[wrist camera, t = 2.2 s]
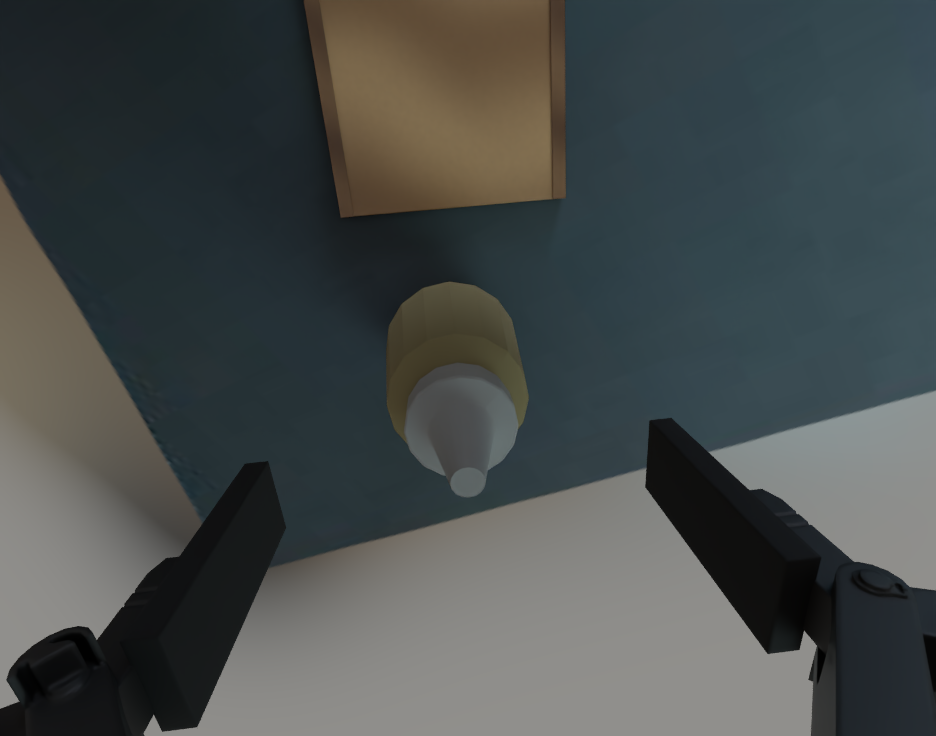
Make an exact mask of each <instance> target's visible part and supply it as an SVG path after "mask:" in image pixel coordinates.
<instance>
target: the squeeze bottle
mask: <svg viewBox="0 0 936 736" xmlns="http://www.w3.org/2000/svg"><path fill="white" fill-rule="evenodd" d="M386 370H387V408H388V411H389V414H390V417H391V420H392V423H393V426H394V429H395V431H396V432H397V433H398V434H399V435H400V436H401V437H402V438H403V440H404V441H405V442H406V443H407V444H408V446H409V449H410V452H411V453H412V454H413V455H414V456H415V457H416V458H417V459H418V460H419V461H420V463H421V464H422V465H423V466H425V467H427V468H429V469H431V470H433V471H435V472H437V473H439V474H441V475H446V477H447V480H448V482H449V484H450V486H451V489H452V490H453V491H454V492H455V493H456V494H457V495H459V496H461V497H472V496H476V495H477V494H479V493H480V492H481V491H482V490H483V488H484V487H485V482H486V477H487V471H488V470H489V469H490V468H492V467H493V466H495V465H496V464H498V463H500V462H501V461H502V460H503V459H504V458H505V456H506V455H507V453H508V452H509V451H510V449H511V448H512V447H513V445H514V443H515V438H516V434H517V430H518V429H519V427H520V426H521V424H522V423H523V421H524V417H525V412H526V408H527V403H528V399H529V396H528V391H527V386H526V381H525V376H524V371H523V367H522V363H521V358H520V354H519V349H518V345H517V340H516V336H515V331H514V327H513V323H512V319H511V318H510V316H509V315H508V313H507V312H506V311H505V309H504V308H503V306H502V305H501V304H500V302H499V301H498V299H496V298H495V297H493V296H491V295H490V294H488V293H486V292H485V291H483V290H482V289H480V288H478V287H477V286H475V285H468V284H461V283H455V282H445V283H441V284H437V285H433V286H429V287H425V288H422V289H421V290H420V291H418V292H417V293H415V294H414V295H413V296H411V297H410V298H409V299H407V300H406V301H405V302H403V303H402V304H401V306H400V308H399V309H398V311H397V313H396V314H395V316H394V318H393V320H392V321H391V323H390V325H389V330H388V339H387V348H386Z"/></svg>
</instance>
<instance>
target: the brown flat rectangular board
mask: <svg viewBox="0 0 936 736" xmlns="http://www.w3.org/2000/svg"><path fill="white" fill-rule="evenodd" d="M304 6H305V12H306V17H307V23H308V29H309V35H310V41H311V47H312V52H313V58H314V64H315V70H316V76H317V82H318V87H319V93H320V99H321V105H322V111H323V117H324V122H325V128H326V134H327V140H328V146H329V152H330V157H331V163H332V169H333V175H334V181H335V187H336V192H337V198H338V204H339V210H340V216H341V218H344V217H354V216H365V215H377V214H388V213H400V212H411V211H422V210H434V209H445V208H456V207H468V206H479V205H491V204H502V203H513V202H525V201H536V200H547V199H560V198H566V161H565V0H304Z"/></svg>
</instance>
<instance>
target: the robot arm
mask: <svg viewBox="0 0 936 736" xmlns="http://www.w3.org/2000/svg"><path fill="white" fill-rule="evenodd" d="M645 487H646V489H647V490H648V491H649V493H650V494H651V495H652V497H653V498H654V500H655V501H656V502H657V504H658V505H659V506H660V508H661V509H662V510H663V512H664V513H665V515H666V516H667V517H668V519H669V520H670V521H671V522H672V524H673V525H674V527H675V528H676V530H677V531H678V532H679V534H680V535H681V536H682V538H683V539H684V540H685V542H686V543H687V545H688V546H689V547H690V549H691V550H692V551H693V553H694V554H695V555H696V557H697V558H698V559H699V561H700V562H701V564H702V565H703V566H704V568H705V569H706V570H707V572H708V573H709V574H710V576H711V577H712V578H713V580H714V581H715V583H716V584H717V585H718V587H719V588H720V589H721V591H722V592H723V593H724V595H725V596H726V598H727V599H728V600H729V602H730V603H731V605H732V606H733V607H734V608H735V610H736V611H737V613H738V614H739V615H740V617H741V618H742V620H743V621H744V622H745V624H746V625H747V626H748V628H749V629H750V630H751V632H752V633H753V635H754V636H755V637H756V639H757V640H758V641H759V643H760V644H761V645H762V647H763V648H764V650H765V651H766V652H767V654H770V653H779V652H786V651H794V650H799V649H800V645H801V641H802V637H803V632H804V631H805V632H806V633H807V634H808V635H809V636H810V638H811V639H812V640H813V641H814V642H815V644H816V645H817V648H816V652H815V656H814V660H813V664H812V667H811V672H810V675H809V680H811V681H813V702H812V725H811V736H936V591H935V590H927V589H920V588H912V587H909V586H908V585H907V584H906V583H905V582H904V581H903V580H902V579H900V578H899V577H897V576H895V575H894V574H892V573H890V572H889V571H887V570H884V569H881V568H879V567H876V566H874V565H870V564H865V563H860V562H854V561H852V560H851V559H850V558H849V557H848V556H846V555H845V554H844V553H843V552H842V551H841V550H840V549H838V548H837V547H836V546H835V545H834V544H833V543H832V542H830V541H829V540H828V539H827V538H826V537H825V536H823V535H822V534H821V533H820V532H819V531H818V530H816V529H815V528H814V527H813V526H812V525H809V524H808V522H807V521H806V520H805V519H804V518H803V517H802V516H800V515H799V514H796V511H795V510H793V509H792V508H791V507H790V506H789V505H788V504H786V503H785V502H784V501H783V500H782V499H780V498H778V497H776V496H774V495H773V494H771V493H769V492H767V491H765V490H763V489H757V490H748V489H747V488H746V487H745V486H744V485H743V484H742V483H741V482H740V481H739V480H738V479H736V478H735V477H734V476H733V475H732V474H731V473H730V472H729V471H728V470H727V469H726V468H724V466H722V465H721V464H720V463H719V462H718V461H717V460H716V459H715V458H714V457H713V456H712V455H711V454H710V453H708V452H707V451H706V450H705V449H704V448H703V447H702V446H701V445H700V444H699V443H698V442H697V441H695V440H694V439H693V438H692V437H691V436H690V435H689V434H688V433H687V432H686V431H685V430H684V429H683V428H681V427H680V426H679V425H678V424H677V423H676V422H675V421H674V420H673V419H672V418H667V419H658V420H650V423H649V439H648V454H647V470H646V485H645ZM285 529H286V526H285V522H284V518H283V515H282V511H281V507H280V504H279V500H278V496H277V493H276V489H275V485H274V482H273V478H272V474H271V470H270V467H269V463H268V461H266V462H257V463H248V464H244V466H243V467H242V469H241V470H240V472H239V473H238V474H237V476H236V477H235V479H234V480H233V481H232V483H231V484H230V486H229V487H228V489H227V490H226V491H225V493H224V494H223V496H222V497H221V498H220V500H219V501H218V503H217V504H216V506H215V507H214V508H213V510H212V511H211V513H210V514H209V515H208V517H207V518H206V520H205V521H204V523H203V524H202V525H201V527H200V528H199V530H198V531H197V532H196V534H195V535H194V537H193V538H192V540H191V541H190V542H189V544H188V545H187V547H186V548H185V549H184V551H183V552H182V554H181V555H180V556H179V557H173V558H166V559H165V560H164V561H162V562H161V563H160V564H159V565H157V566H156V567H155V568H154V569H152V570H151V571H150V572H149V573H148V574H147V575H146V576H145V578H144V579H143V580H142V581H141V583H140V584H139V585H138V587H137V588H136V590H135V593H133V594H132V595H131V596H130V597H129V599H128V600H127V601H126V603H125V606H124V607H122V608H121V609H120V610H119V612H118V613H117V614H116V616H115V617H114V618H113V620H112V621H111V622H110V624H109V625H108V626H107V628H106V629H105V630H104V631H103V633H102V634H101V635H100V637H99V638H98V640H96V638H95V637H94V635H93V633H92V631H91V630H90V629H89V628H88V627H81V626H77V627H72V628H67V629H63V630H61V631H59V632H57V633H54V634H52V635H49V636H48V637H46V638H45V639H43V640H41V641H40V642H38V643H37V644H35V645H33V646H32V647H31V648H30V649H28V650H27V651H26V652H25V653H24V654H23V655H21V656H20V658H18V660H17V661H16V662H15V663H14V665H13V666H12V667H11V669H10V671H9V674H8V677H7V682H8V683H9V685H10V687H11V688H12V690H13V691H14V693H15V695H16V696H17V698H18V700H19V701H20V702H17V703H15V704H12V705H9V706H7V707H4V708H1V709H0V736H144V734H143V733H144V731H145V729H146V728H147V726H148V724H149V722H150V720H151V718H152V717H153V715H154V716H155V718H156V720H157V722H158V724H159V726H160V728H161V730H162V732H163V731H171V730H179V729H187V728H194V727H197V726H198V724H199V722H200V720H201V717H202V715H203V712H204V711H205V708H206V706H207V704H208V702H209V699H210V697H211V695H212V693H213V691H214V688H215V686H216V684H217V681H218V679H219V677H220V675H221V673H222V670H223V668H224V666H225V663H226V661H227V659H228V657H229V655H230V652H231V650H232V648H233V646H234V643H235V641H236V639H237V636H238V634H239V632H240V630H241V628H242V625H243V623H244V621H245V619H246V616H247V614H248V612H249V610H250V607H251V605H252V603H253V601H254V598H255V596H256V594H257V592H258V590H259V587H260V585H261V583H262V580H263V578H264V576H265V574H266V572H267V569H268V567H269V565H270V563H271V560H272V558H273V556H274V554H275V551H276V549H277V547H278V545H279V542H280V540H281V538H282V536H283V533H284V531H285Z"/></svg>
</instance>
